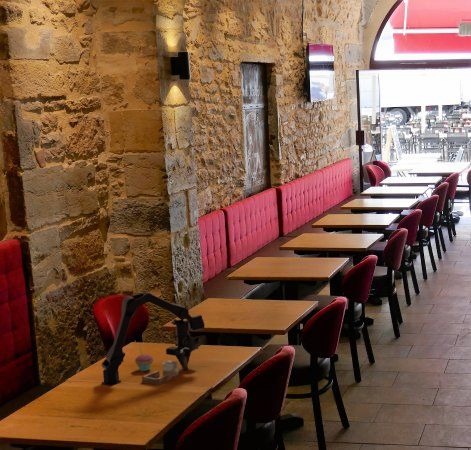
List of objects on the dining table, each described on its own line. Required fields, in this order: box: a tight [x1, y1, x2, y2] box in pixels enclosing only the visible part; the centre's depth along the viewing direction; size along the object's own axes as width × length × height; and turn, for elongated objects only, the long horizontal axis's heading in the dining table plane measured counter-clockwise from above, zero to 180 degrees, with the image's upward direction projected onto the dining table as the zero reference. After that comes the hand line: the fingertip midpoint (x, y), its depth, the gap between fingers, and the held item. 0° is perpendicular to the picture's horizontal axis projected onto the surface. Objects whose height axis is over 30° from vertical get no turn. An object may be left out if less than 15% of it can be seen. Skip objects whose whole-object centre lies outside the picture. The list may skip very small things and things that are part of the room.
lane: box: [141, 370, 174, 386], centre depth 393 cm, size 10×9×2 cm
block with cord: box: [161, 356, 189, 377], centre depth 403 cm, size 14×5×6 cm, turn 143°
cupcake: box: [134, 345, 154, 372], centre depth 410 cm, size 9×8×12 cm
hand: (184, 364), depth 407 cm, fingers closed on block with cord, 3 cm apart
